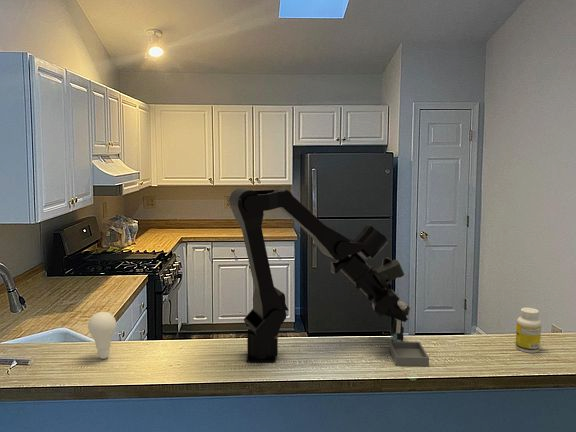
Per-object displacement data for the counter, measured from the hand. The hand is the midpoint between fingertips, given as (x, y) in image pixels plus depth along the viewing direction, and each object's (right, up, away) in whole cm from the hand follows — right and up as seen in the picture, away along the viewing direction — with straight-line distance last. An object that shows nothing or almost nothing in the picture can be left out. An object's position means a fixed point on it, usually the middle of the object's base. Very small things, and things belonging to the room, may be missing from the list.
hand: (404, 316), depth 133 cm
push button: (-2, -7, +1) cm, 7 cm away
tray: (-1, -8, -8) cm, 11 cm away
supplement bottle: (+29, -8, -2) cm, 30 cm away
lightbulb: (-71, -8, -9) cm, 72 cm away
